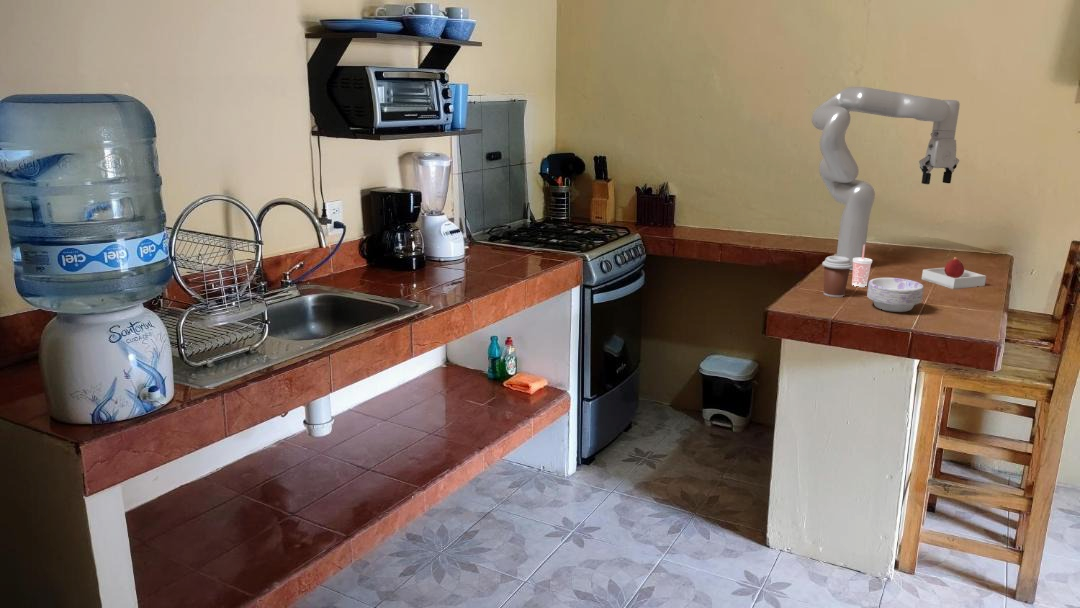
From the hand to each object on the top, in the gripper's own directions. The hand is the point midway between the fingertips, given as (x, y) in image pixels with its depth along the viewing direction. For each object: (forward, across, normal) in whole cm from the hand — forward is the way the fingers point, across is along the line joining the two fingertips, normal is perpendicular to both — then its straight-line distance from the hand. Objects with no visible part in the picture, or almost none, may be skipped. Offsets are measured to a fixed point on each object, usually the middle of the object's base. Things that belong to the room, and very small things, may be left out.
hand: (935, 183), depth 282 cm
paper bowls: (+31, -54, -43) cm, 76 cm away
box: (+30, -12, -24) cm, 41 cm away
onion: (+30, -11, -24) cm, 40 cm away
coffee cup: (+31, -61, -25) cm, 73 cm away
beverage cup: (+31, -45, -18) cm, 57 cm away
